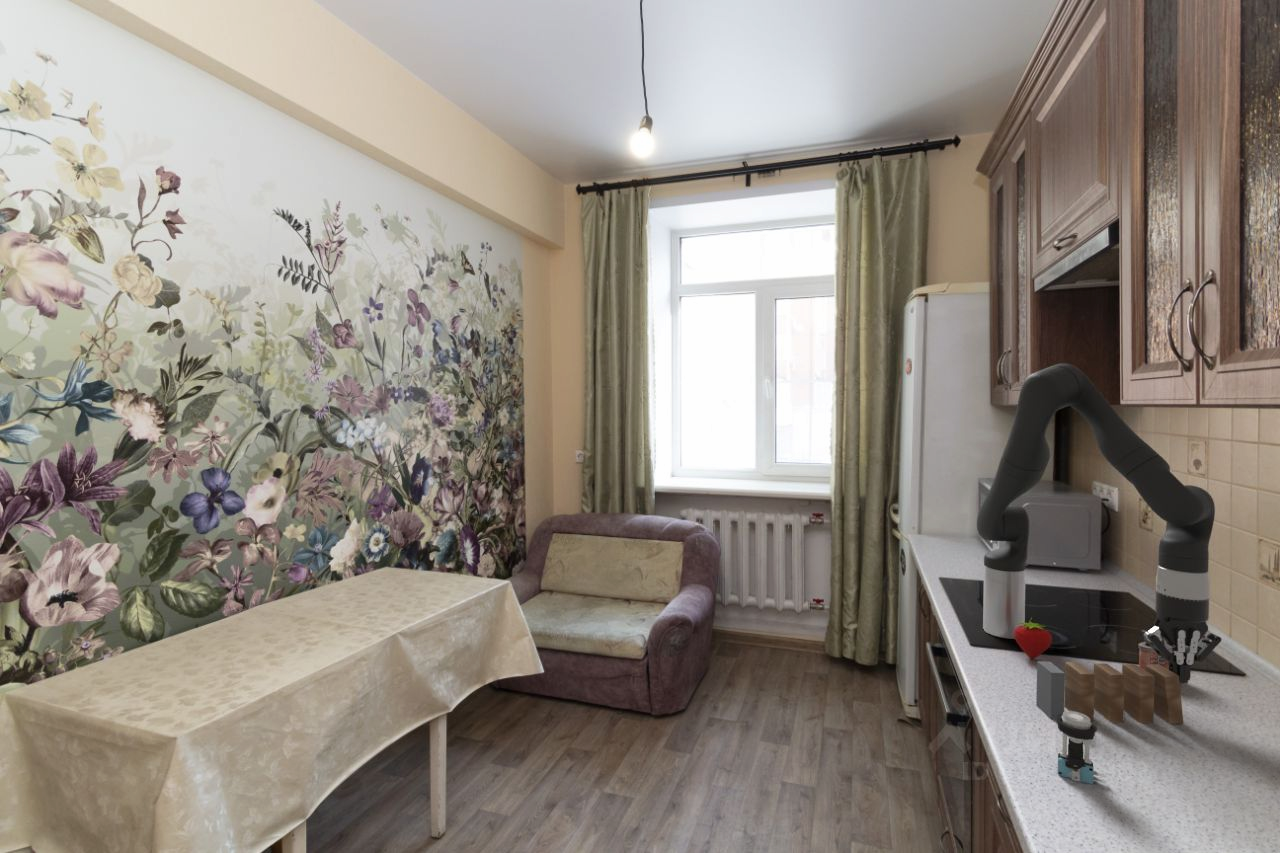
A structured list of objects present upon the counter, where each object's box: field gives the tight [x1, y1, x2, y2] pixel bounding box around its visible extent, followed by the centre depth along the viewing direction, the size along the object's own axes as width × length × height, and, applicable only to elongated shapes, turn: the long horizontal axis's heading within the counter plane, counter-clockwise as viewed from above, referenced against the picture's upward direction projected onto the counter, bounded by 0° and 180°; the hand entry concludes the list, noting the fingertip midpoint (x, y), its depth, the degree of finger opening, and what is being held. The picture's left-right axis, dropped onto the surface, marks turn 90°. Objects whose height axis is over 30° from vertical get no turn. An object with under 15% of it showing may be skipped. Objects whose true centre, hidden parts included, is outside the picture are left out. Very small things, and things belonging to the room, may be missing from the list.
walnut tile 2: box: [1121, 663, 1155, 724], centre depth 116 cm, size 2×5×9 cm, turn 174°
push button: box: [1055, 710, 1107, 785], centre depth 97 cm, size 7×5×10 cm
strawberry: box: [1014, 617, 1053, 659], centre depth 141 cm, size 6×8×10 cm
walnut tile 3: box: [1092, 662, 1124, 723], centre depth 116 cm, size 2×5×9 cm, turn 174°
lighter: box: [1137, 635, 1169, 671], centre depth 131 cm, size 8×3×10 cm, turn 105°
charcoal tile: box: [1035, 660, 1065, 720], centre depth 117 cm, size 2×5×9 cm, turn 174°
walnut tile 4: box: [1064, 661, 1095, 722], centre depth 117 cm, size 2×5×9 cm, turn 174°
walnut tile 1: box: [1146, 664, 1184, 725], centre depth 115 cm, size 2×5×9 cm, turn 174°
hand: (1179, 681), depth 115 cm, fingers closed
